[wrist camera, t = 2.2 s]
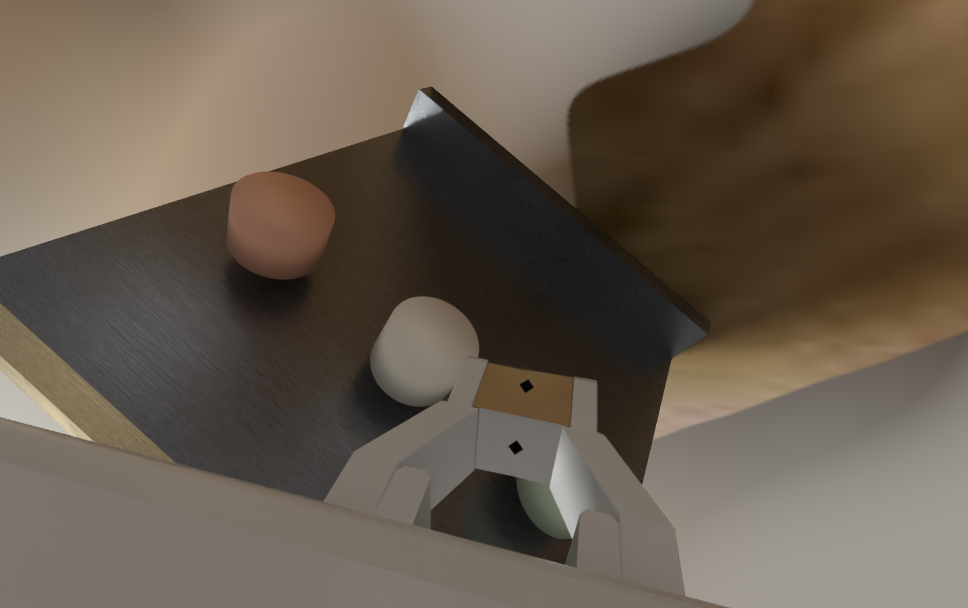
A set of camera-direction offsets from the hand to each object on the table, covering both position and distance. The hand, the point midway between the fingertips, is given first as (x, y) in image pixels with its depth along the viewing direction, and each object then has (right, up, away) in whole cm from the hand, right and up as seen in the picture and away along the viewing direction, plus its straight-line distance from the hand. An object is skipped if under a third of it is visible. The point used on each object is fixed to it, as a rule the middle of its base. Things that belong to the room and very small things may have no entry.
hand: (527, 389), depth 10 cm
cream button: (-3, +1, +14) cm, 14 cm away
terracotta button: (-11, +7, +14) cm, 19 cm away
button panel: (+4, +8, +31) cm, 33 cm away
